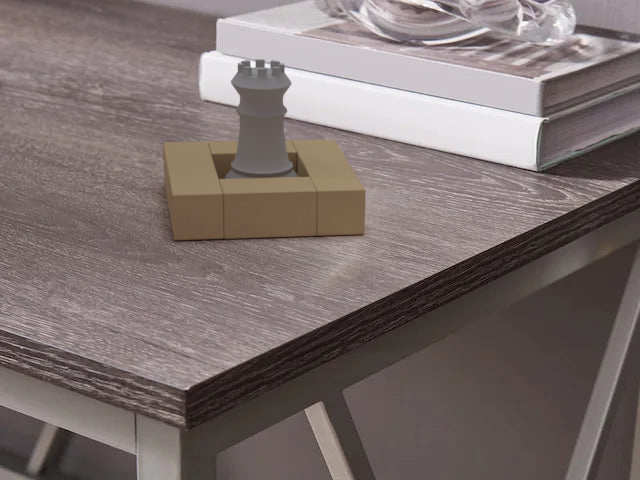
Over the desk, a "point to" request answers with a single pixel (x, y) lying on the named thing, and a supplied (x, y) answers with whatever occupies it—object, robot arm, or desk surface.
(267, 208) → the socket pad
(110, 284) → the desk surface
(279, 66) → the rook chess piece
